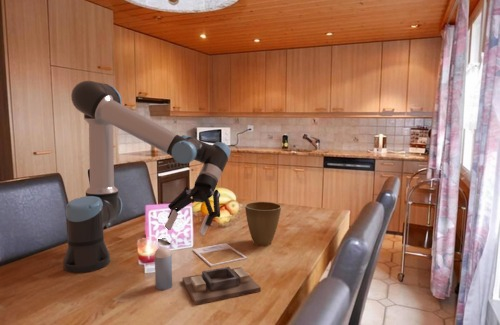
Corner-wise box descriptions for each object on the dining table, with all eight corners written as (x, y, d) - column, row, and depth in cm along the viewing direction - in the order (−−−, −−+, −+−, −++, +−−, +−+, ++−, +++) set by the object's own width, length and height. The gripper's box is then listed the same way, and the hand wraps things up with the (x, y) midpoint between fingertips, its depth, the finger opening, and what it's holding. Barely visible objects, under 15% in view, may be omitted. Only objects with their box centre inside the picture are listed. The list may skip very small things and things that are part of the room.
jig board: (195, 304, 99) (195, 292, 99) (182, 281, 114) (182, 270, 113) (260, 291, 107) (260, 279, 107) (240, 270, 122) (240, 260, 121)
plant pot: (259, 252, 139) (259, 211, 137) (238, 241, 151) (238, 204, 149) (288, 244, 148) (288, 206, 146) (265, 234, 160) (265, 199, 158)
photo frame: (225, 242, 148) (247, 257, 132) (226, 245, 148) (247, 260, 132) (192, 248, 140) (211, 264, 125) (192, 251, 141) (211, 268, 125)
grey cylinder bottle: (157, 291, 107) (155, 251, 106) (154, 284, 112) (153, 245, 110) (173, 288, 109) (172, 248, 108) (170, 281, 114) (169, 243, 112)
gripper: (242, 187, 127) (220, 241, 115) (184, 182, 138) (160, 231, 126) (234, 175, 121) (211, 230, 110) (175, 170, 132) (149, 220, 121)
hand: (183, 231), depth 118 cm, fingers open, 13 cm apart
